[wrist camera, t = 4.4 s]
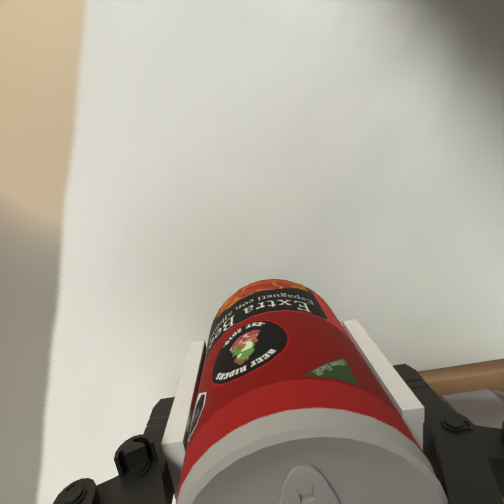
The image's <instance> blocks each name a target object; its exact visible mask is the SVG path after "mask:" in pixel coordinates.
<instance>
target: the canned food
mask: <svg viewBox="0 0 504 504" xmlns="http://www.w3.org/2000/svg"><path fill="white" fill-rule="evenodd" d="M176 504H448V499H447V497H446V495H445V492H444V490H443V488H442V486H441V484H440V482H439V480H438V479H437V477H436V475H435V473H434V471H433V468H432V466H431V464H430V462H429V460H428V459H427V457H426V455H425V454H424V452H423V451H422V449H421V448H420V446H419V445H418V443H417V441H416V440H415V438H414V437H413V435H412V433H411V431H410V429H409V428H408V426H407V425H406V423H405V422H404V420H403V419H402V417H401V415H400V414H399V412H398V411H397V409H396V408H395V406H394V405H393V403H392V402H391V400H390V399H389V397H388V396H387V394H386V393H385V391H384V390H383V388H382V386H381V385H380V383H379V382H378V380H377V379H376V377H375V376H374V374H373V373H372V371H371V370H370V368H369V367H368V365H367V364H366V362H365V361H364V359H363V357H362V356H361V354H360V353H359V351H358V350H357V348H356V347H355V345H354V344H353V342H352V341H351V339H350V338H349V336H348V335H347V333H346V332H345V330H344V328H343V327H342V325H341V324H340V322H339V321H338V319H337V318H336V316H335V315H334V313H333V312H332V310H331V309H330V307H329V306H328V305H327V304H326V302H325V301H324V300H323V299H322V298H321V297H320V296H319V295H317V294H316V293H315V292H314V291H312V290H310V289H308V288H307V287H305V286H303V285H300V284H297V283H294V282H291V281H287V280H280V279H269V280H261V281H258V282H254V283H251V284H249V285H247V286H245V287H243V288H241V289H240V290H238V291H237V292H236V293H235V294H233V295H232V296H231V297H230V298H229V299H227V301H226V302H225V303H224V304H223V305H222V307H221V308H220V309H219V311H218V313H217V315H216V316H215V318H214V320H213V324H212V327H211V331H210V335H209V340H208V345H207V349H206V354H205V359H204V364H203V369H202V374H201V379H200V384H199V388H198V393H197V398H196V403H195V408H194V413H193V418H192V423H191V427H190V432H189V437H188V442H187V447H186V452H185V457H184V462H183V466H182V472H181V480H180V485H179V490H178V495H177V500H176Z"/></svg>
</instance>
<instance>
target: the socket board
mask: <svg viewBox="0 0 504 504" xmlns="http://www.w3.org/2000/svg"><path fill="white" fill-rule="evenodd" d="M418 373H419V374H420V376H421V377H422V378H423V380H425V381H426V383H427V384H428V385H429V387H431V388H432V389H433V391H434V392H435V393H436V394H437V395H438V396H439V397H440V399H441V400H442V401H443V402H444V403H445V404H446V406H447V407H448V408H449V409H450V410H451V411H453V412H457V413H459V414H461V415H463V416H465V417H467V418H468V419H469V420H470V421H471V422H472V423H473V424H474V425H478V426H484V427H492V428H500V429H502V422H503V421H504V359H500V360H493V361H487V362H480V363H474V364H467V365H461V366H454V367H447V368H441V369H434V370H428V371H421V372H418ZM501 497H502V496H501ZM502 499H503V498H502ZM503 502H504V499H503Z"/></svg>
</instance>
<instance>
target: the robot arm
mask: <svg viewBox="0 0 504 504" xmlns="http://www.w3.org/2000/svg"><path fill="white" fill-rule="evenodd" d="M342 322H343V328H344V330H345V332H346V333H347V335H348V336H349V338H350V339H351V341H352V342H353V344H354V345H355V347H356V348H357V350H358V351H359V353H360V354H361V356H362V357H363V359H364V361H365V362H366V364H367V365H368V367H369V368H370V370H371V371H372V373H373V374H374V376H375V377H376V379H377V380H378V382H379V383H380V385H381V386H382V388H383V390H384V391H385V393H386V394H387V396H388V397H389V399H390V400H391V402H392V403H393V405H394V406H395V408H396V409H397V411H398V412H399V414H400V415H401V417H402V419H403V420H404V422H405V423H406V425H407V426H408V428H409V429H410V431H411V433H412V435H413V437H414V438H415V440H416V441H417V443H418V445H419V446H420V448H421V449H422V451H423V452H424V454H425V455H426V457H427V459H428V460H429V462H430V464H431V466H432V468H433V471H434V473H435V475H436V477H437V479H438V480H439V482H440V484H441V486H442V488H443V490H444V492H445V495H446V497H447V499H448V504H504V502H503V499H504V421H503V422H502V429H500V428H492V427H484V426H478V425H474V424H473V423H472V422H471V421H470V420H469V419H468V418H467V417H465V416H463V415H461V414H459V413H457V412H453V411H451V410H450V409H449V408H448V407H447V406H446V404H445V403H444V402H443V401H442V400H441V399H440V397H439V396H438V395H437V394H436V393H435V392H434V391H433V389H432V388H431V387H429V385H428V384H427V383H426V381H425V380H423V378H422V377H421V376H420V374H419V373H418V372H417V371H416V370H414V369H413V368H411V367H410V366H408V365H406V364H401V365H394V366H392V365H391V364H390V362H389V361H388V360H387V358H386V357H385V356H384V355H383V353H382V352H381V351H380V349H379V348H378V347H377V345H376V344H375V343H374V341H373V340H372V339H371V338H370V336H369V335H368V334H367V332H366V331H365V330H364V328H363V327H362V326H361V325H360V323H359V322H358V321H357V319H351V320H344V321H342ZM205 354H206V344H205V340H202V341H195V342H191V344H190V348H189V351H188V354H187V358H186V361H185V365H184V368H183V371H182V375H181V378H180V382H179V385H178V388H177V392H176V395H175V397H172V398H165V399H160V401H159V402H158V403H157V404H156V405H155V406H154V408H153V410H152V413H151V415H150V419H149V421H148V423H147V427H146V429H145V431H144V434H143V435H137V436H133V437H131V438H130V439H128V440H126V441H125V442H124V443H123V444H122V445H121V446H120V447H119V448H118V450H117V451H116V453H115V457H114V461H115V464H116V467H117V470H118V473H119V475H118V476H116V477H115V478H113V479H110V480H108V481H106V482H103V483H101V484H99V485H97V486H96V484H95V482H94V480H92V479H89V478H84V479H79V480H77V481H75V482H73V483H71V484H70V485H68V486H67V487H66V488H64V489H63V491H62V492H61V493H60V494H59V495H58V496H57V498H56V499H55V501H54V503H53V504H172V499H173V495H175V498H176V500H177V495H178V490H179V485H180V480H181V472H182V466H183V462H184V457H185V452H186V447H187V442H188V437H189V432H190V427H191V423H192V418H193V413H194V408H195V403H196V398H197V393H198V388H199V384H200V379H201V374H202V369H203V364H204V359H205ZM501 496H502V497H501ZM502 498H503V499H502Z"/></svg>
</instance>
